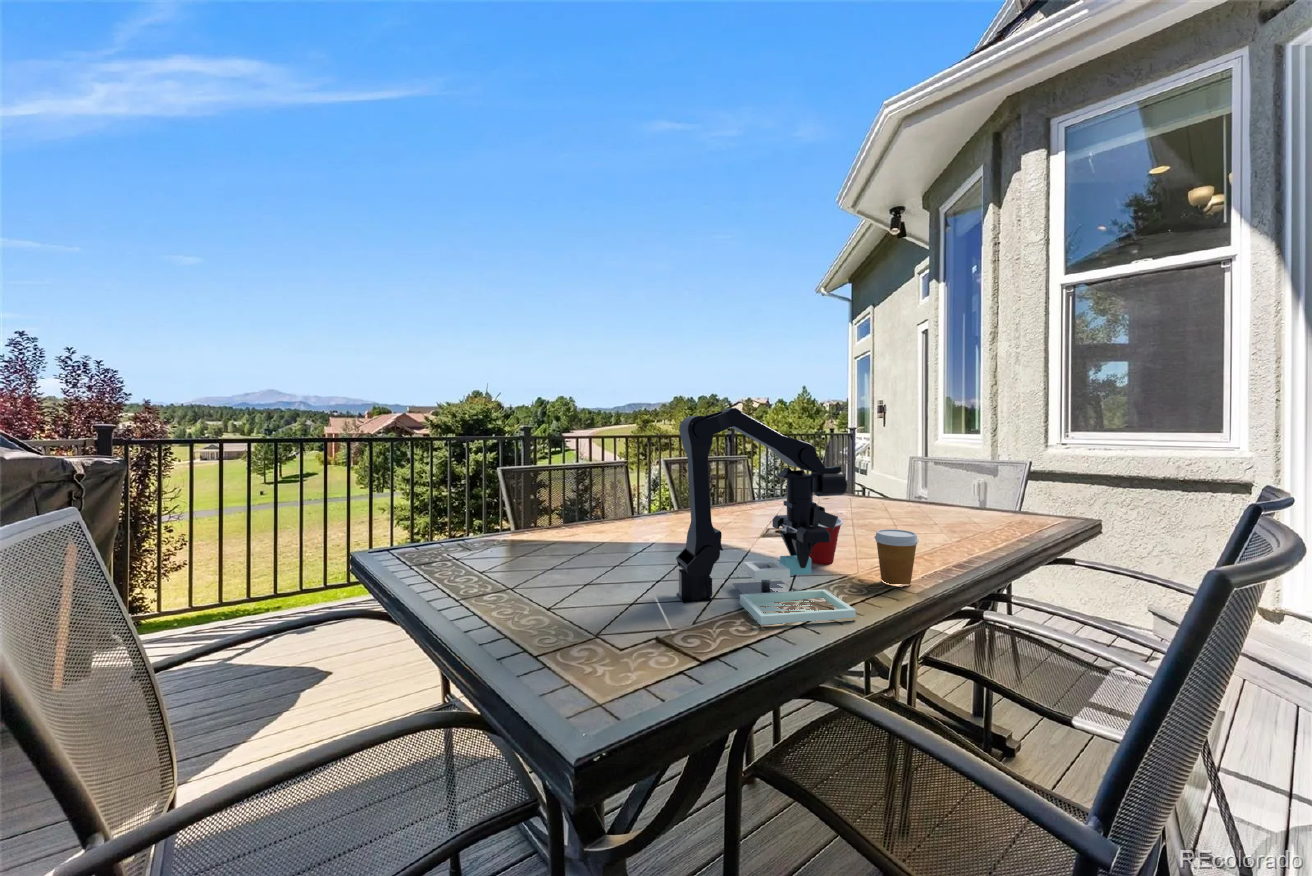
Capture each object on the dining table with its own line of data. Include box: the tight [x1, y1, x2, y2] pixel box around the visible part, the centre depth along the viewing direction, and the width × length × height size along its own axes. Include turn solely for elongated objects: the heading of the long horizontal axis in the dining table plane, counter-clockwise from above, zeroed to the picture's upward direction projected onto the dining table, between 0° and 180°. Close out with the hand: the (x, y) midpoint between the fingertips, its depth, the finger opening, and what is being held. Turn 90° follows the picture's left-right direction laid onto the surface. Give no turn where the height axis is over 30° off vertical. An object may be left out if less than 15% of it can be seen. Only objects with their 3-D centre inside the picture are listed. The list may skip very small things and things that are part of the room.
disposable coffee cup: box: [874, 528, 920, 584], centre depth 129 cm, size 10×10×12 cm
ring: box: [743, 555, 812, 581], centre depth 125 cm, size 14×8×4 cm, turn 99°
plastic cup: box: [809, 517, 843, 566], centre depth 148 cm, size 11×11×12 cm
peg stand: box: [732, 564, 786, 594], centre depth 124 cm, size 12×12×6 cm
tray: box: [739, 588, 857, 625], centre depth 111 cm, size 19×13×2 cm
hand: (799, 565), depth 126 cm, fingers closed on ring, 3 cm apart
